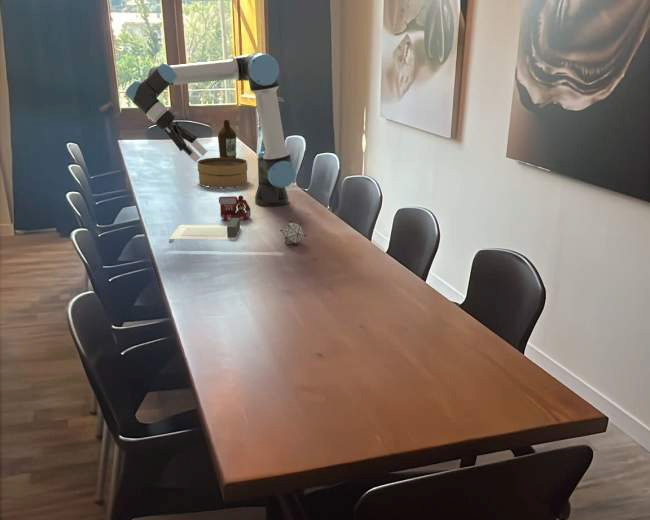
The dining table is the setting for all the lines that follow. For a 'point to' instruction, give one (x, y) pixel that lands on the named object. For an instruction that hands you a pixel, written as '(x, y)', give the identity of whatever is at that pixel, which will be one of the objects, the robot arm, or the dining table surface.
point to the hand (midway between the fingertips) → (201, 156)
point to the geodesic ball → (293, 233)
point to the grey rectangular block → (233, 227)
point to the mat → (202, 232)
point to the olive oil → (227, 141)
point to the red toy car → (234, 208)
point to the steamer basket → (222, 172)
